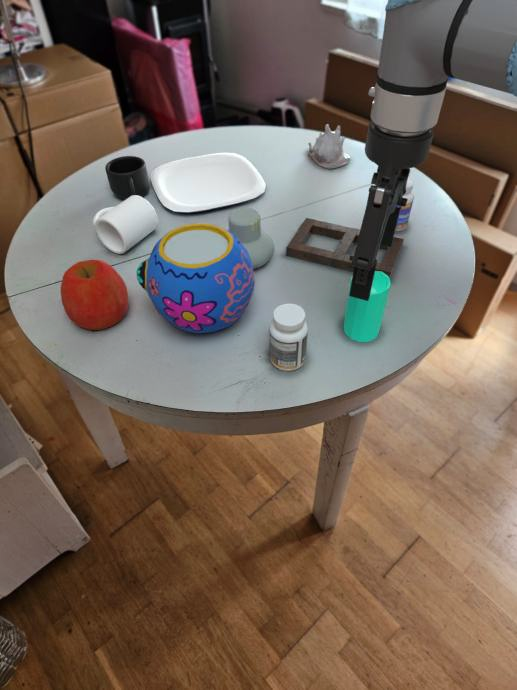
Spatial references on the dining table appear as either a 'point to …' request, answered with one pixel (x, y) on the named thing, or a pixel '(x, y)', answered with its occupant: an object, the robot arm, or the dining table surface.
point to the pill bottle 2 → (405, 210)
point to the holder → (342, 252)
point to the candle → (367, 310)
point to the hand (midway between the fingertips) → (371, 269)
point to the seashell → (329, 149)
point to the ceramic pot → (198, 277)
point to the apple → (94, 295)
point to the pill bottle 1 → (288, 337)
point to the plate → (206, 182)
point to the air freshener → (251, 235)
